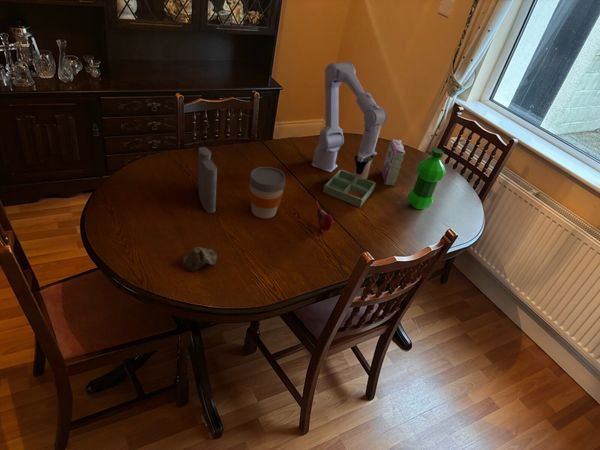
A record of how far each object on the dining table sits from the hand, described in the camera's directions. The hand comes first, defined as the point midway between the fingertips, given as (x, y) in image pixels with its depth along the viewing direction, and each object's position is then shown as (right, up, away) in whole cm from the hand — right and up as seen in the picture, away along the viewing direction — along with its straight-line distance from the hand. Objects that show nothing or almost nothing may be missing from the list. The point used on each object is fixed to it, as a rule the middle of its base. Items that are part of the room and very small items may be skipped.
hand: (361, 170), depth 177 cm
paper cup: (0, -2, +1) cm, 2 cm away
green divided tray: (-4, -8, +4) cm, 10 cm away
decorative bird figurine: (-17, -23, -18) cm, 34 cm away
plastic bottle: (+23, -14, +3) cm, 27 cm away
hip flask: (-59, -13, -15) cm, 62 cm away
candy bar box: (+14, -2, +17) cm, 22 cm away
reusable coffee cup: (-38, -17, -15) cm, 44 cm away
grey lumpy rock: (-55, -34, -42) cm, 77 cm away
